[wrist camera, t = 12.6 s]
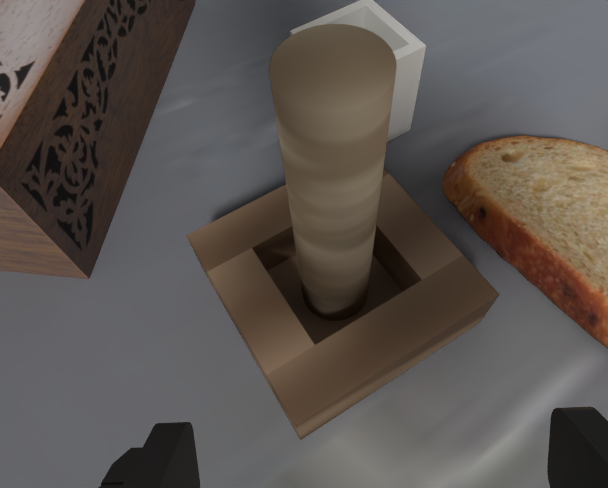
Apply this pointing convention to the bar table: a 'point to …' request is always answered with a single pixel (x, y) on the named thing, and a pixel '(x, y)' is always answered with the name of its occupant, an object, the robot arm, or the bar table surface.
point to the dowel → (333, 156)
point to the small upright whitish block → (403, 47)
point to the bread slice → (542, 217)
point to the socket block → (350, 332)
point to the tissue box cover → (75, 120)
